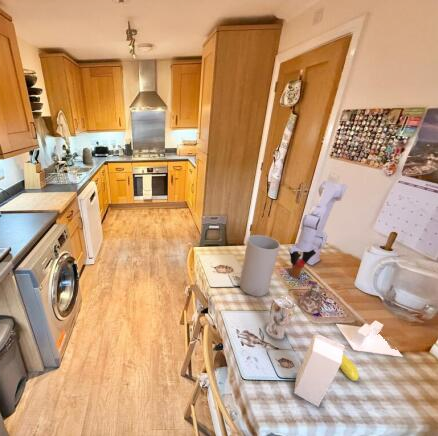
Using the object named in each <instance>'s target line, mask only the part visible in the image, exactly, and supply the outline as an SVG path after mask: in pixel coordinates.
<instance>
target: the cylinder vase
mask: <svg viewBox="0 0 438 436" xmlns="http://www.w3.org/2000/svg"><path fill="white" fill-rule="evenodd" d="M280 248H281V244H280V242H279V241H278V240H276V239H275V238H273V237H270V236H268V235H263V234H253V235H250V236H249V237H248V238H247V242H246V247H245V252H244V255H243V262H242V267H241V270H240V271H241V272H240V277H239V281H238V285H239V287H240V289H241V291H243V292H244V293H246V294H248V295H250V296H253V297H264V296H265V295H267V294H268V292H269V288H270V285H271V281H272V277H273V274H274V270H275V266H276V263H277V258H278V255H279V252H280Z"/></svg>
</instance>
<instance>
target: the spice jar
mask: <svg viewBox="0 0 438 436" xmlns="http://www.w3.org/2000/svg"><path fill="white" fill-rule="evenodd" d="M291 265H292V264H291ZM302 270H303V268H297V267H295V266H293V265H292V266H291V269H290V273H289V276H291V278H294V279H299V278H300V277H301V273H302Z"/></svg>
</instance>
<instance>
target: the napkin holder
mask: <svg viewBox="0 0 438 436" xmlns="http://www.w3.org/2000/svg"><path fill="white" fill-rule="evenodd" d="M335 325H336V326H337V328H338V329H339V332H341V334H342V335H343V336H344V338H345V339H346V341H347V343H348V344H349V345H350V347H351V348H352V350H353V351H359V352H364V353H373V354H379V355H380V354H381V355H385V356H386V355H387V356H394V357H402V358H404V355H403V354H402V353H401V352H400V351H399V350H398V349H397V350H395V349H391V348H390V346H389V345H388V343H387V341H385V339H383V337H382V336H381V335H380V334H378V333H379V332H380V331H382V329H383V327H384V324H383V323H381V322H379V321H378V320H374V321H373V322H372V323H371V324H368V323H366V322H365V323H364V324H363V325H362V326H359V325H358V326H357V325H350V324H341V323H335ZM377 334H378V335H377Z"/></svg>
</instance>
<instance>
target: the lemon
mask: <svg viewBox="0 0 438 436" xmlns="http://www.w3.org/2000/svg"><path fill="white" fill-rule="evenodd" d="M339 369H341V370H342V372H343V373H344V375H345V376H346V377H347V378H348V379H349V380H351V381H354V382H355V381H357V380H358V379H359V371H358V369H357V367H356V366H355V364H354V363H353V362H352V360H351V359H349V358H348V357H347V356H346V355H345V354H343V356H342V362H341V365H340V367H339Z"/></svg>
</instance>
